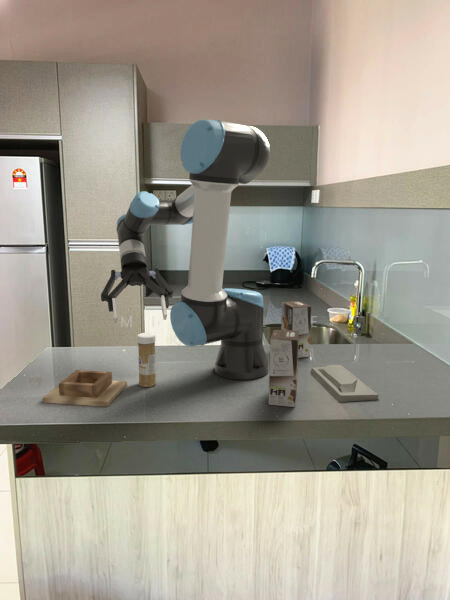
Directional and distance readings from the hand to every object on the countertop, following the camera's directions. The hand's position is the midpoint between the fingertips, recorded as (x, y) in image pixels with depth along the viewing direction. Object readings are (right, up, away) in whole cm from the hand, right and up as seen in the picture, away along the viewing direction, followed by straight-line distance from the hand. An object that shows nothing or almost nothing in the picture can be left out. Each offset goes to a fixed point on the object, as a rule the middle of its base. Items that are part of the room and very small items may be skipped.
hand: (140, 319), depth 126 cm
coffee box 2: (+37, -19, -16) cm, 44 cm away
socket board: (-11, -18, -13) cm, 25 cm away
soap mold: (+54, -18, -7) cm, 57 cm away
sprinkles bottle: (+3, -17, -7) cm, 18 cm away
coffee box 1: (+45, -12, +19) cm, 50 cm away
